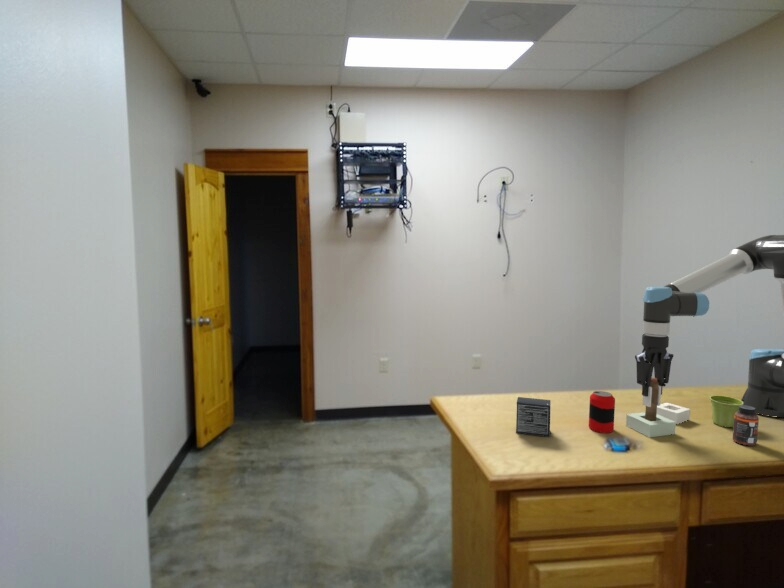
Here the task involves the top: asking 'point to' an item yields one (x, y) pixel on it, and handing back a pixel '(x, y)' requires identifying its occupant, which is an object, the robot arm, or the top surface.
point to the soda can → (601, 412)
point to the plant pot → (724, 409)
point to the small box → (533, 416)
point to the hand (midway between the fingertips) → (651, 404)
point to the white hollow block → (673, 412)
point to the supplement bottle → (745, 426)
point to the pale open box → (650, 425)
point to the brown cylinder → (652, 401)
